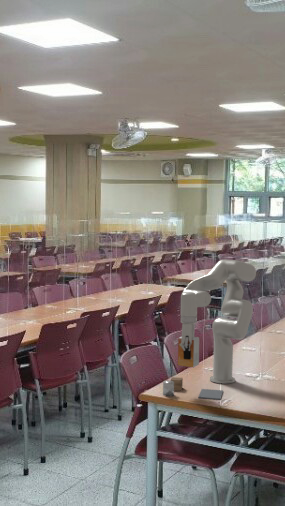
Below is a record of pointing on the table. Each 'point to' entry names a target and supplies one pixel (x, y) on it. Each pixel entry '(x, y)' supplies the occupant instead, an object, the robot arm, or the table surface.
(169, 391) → the grey metal cylinder
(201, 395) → the slate mat
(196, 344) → the small box
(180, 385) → the walnut block
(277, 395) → the table surface
